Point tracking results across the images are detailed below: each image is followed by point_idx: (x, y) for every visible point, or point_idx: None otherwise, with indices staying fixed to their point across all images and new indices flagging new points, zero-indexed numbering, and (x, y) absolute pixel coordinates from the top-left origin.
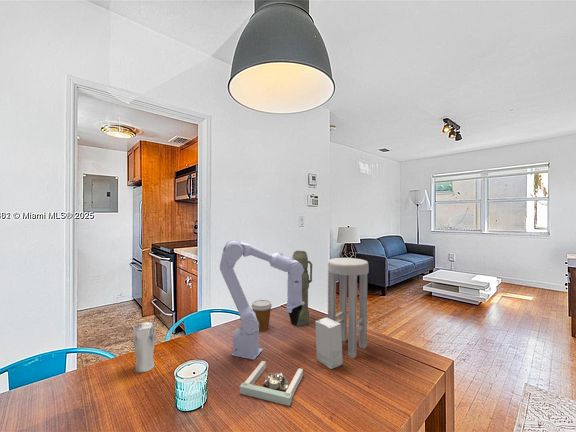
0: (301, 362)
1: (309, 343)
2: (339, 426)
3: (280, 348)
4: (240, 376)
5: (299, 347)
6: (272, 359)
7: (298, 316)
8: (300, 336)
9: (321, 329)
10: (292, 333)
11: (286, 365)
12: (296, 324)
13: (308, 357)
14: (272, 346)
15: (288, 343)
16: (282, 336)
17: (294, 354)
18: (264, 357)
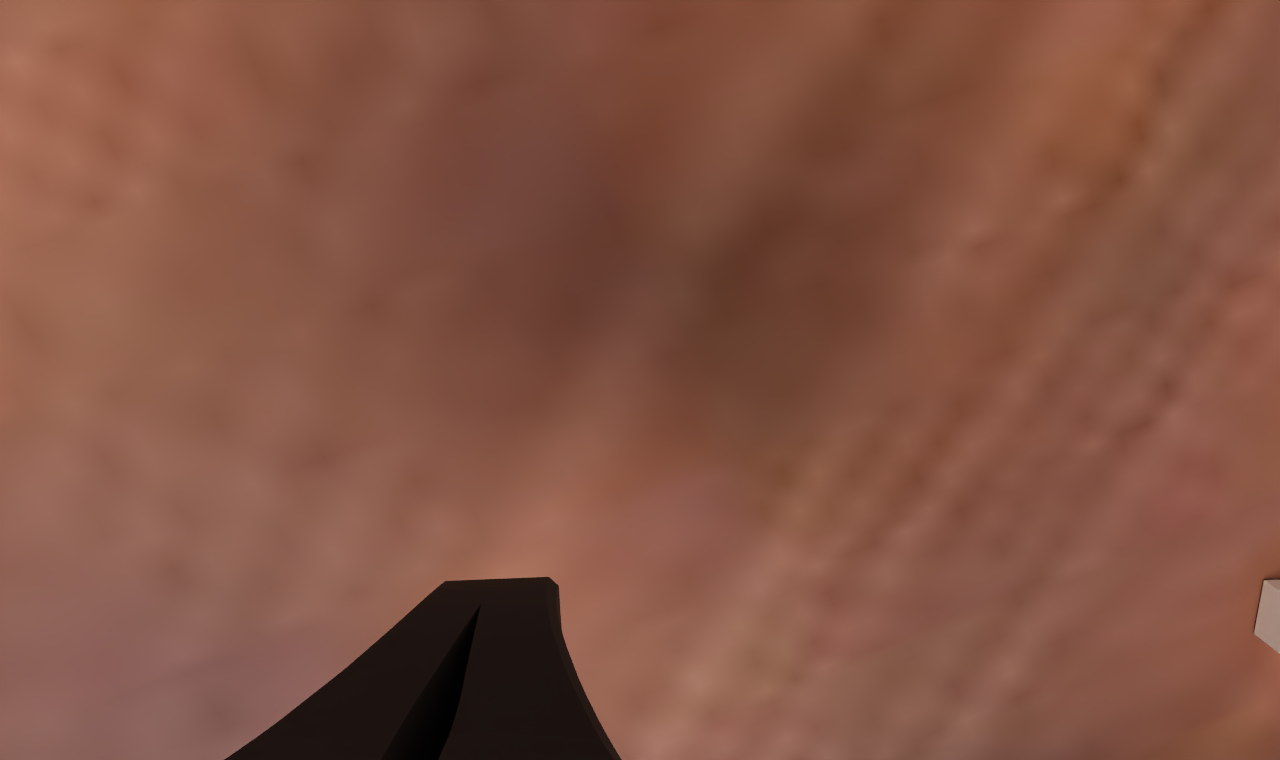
0: (992, 135)
1: (293, 206)
2: None
3: (674, 605)
4: None
5: (519, 333)
6: (1023, 587)
7: (400, 730)
8: (114, 452)
9: None
10: (82, 619)
11: (1136, 336)
12: (556, 589)
13: (797, 65)
14: (661, 732)
15: (465, 552)
16: None
17: (779, 334)
18: (1001, 705)
